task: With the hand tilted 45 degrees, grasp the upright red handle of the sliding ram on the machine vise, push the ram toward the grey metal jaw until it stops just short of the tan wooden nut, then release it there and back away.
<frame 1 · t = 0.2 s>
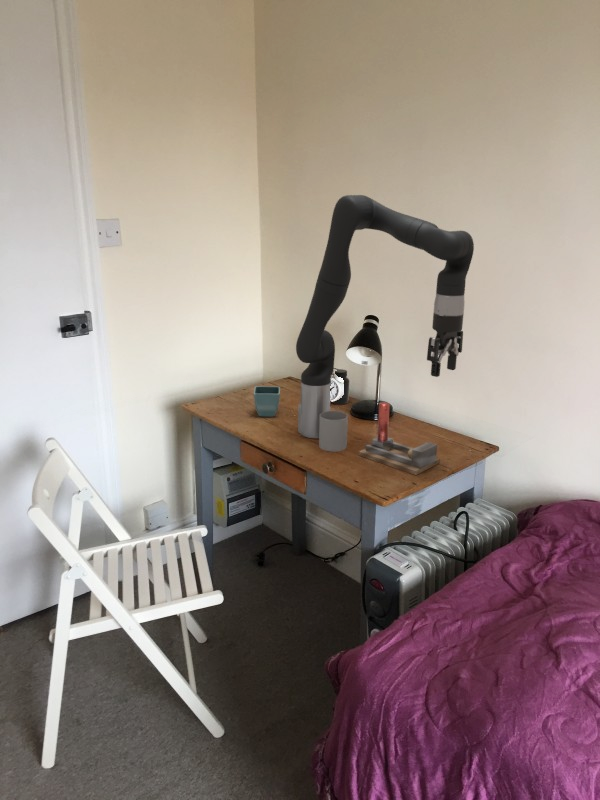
hand: (443, 372, 171), 29 cm above the table, tool pointing down, fingers open, 8 cm apart
cup: (332, 446, 198), on the table
flower pot: (267, 415, 225), on the table
supplement bottle: (339, 402, 239), on the table
ram: (383, 426, 191), point 9 cm above the table, slide at 0.0 cm
machine vise: (398, 458, 189), on the table
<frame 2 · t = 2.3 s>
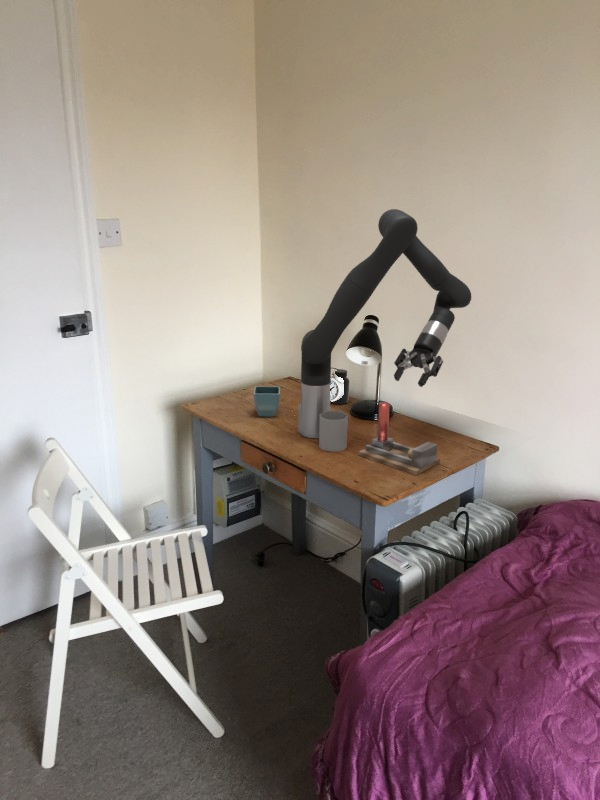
hand: (407, 382, 195), 20 cm above the table, tool tilted 45°, fingers open, 8 cm apart
nothing on the table moved.
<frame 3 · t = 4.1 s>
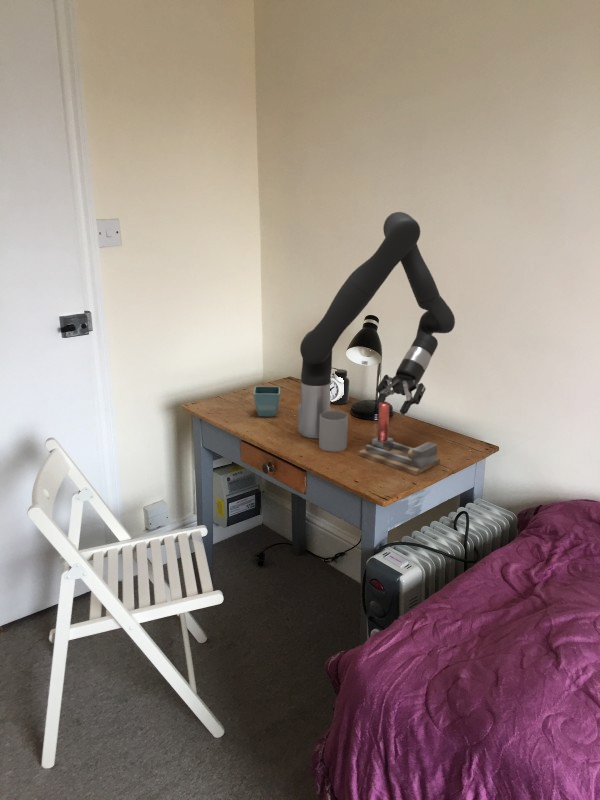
hand: (389, 410, 191), 13 cm above the table, tool tilted 45°, fingers open, 8 cm apart
nothing on the table moved.
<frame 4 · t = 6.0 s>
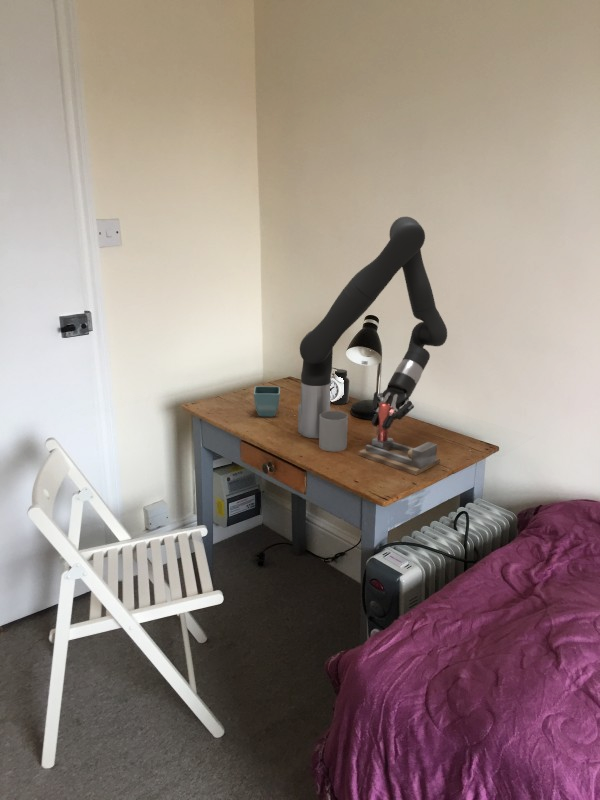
hand: (379, 426, 189), 9 cm above the table, tool tilted 45°, fingers closed on ram, 3 cm apart
ram: (383, 426, 191), point 8 cm above the table, slide at 0.0 cm, touching gripper
everything else where it was.
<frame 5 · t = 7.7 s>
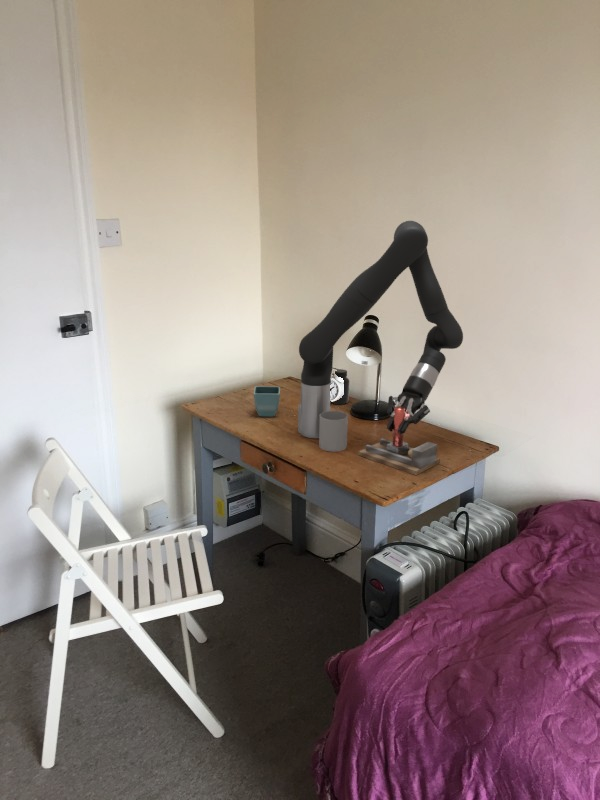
hand: (394, 431, 186), 9 cm above the table, tool tilted 45°, fingers closed on ram, 3 cm apart
ram: (398, 431, 187), point 9 cm above the table, slide at 5.4 cm, touching gripper
everything else where it was.
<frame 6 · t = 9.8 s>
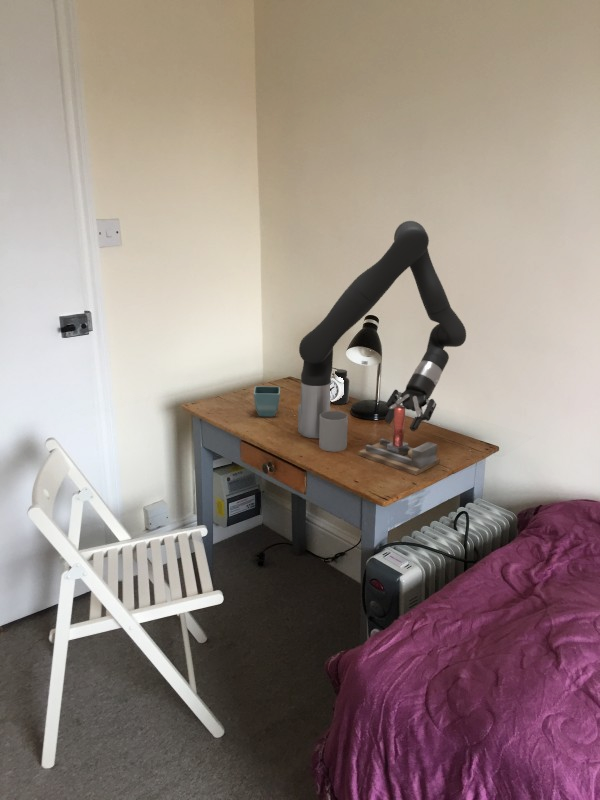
hand: (399, 426, 187), 10 cm above the table, tool tilted 45°, fingers open, 8 cm apart
ram: (398, 431, 187), point 9 cm above the table, slide at 5.4 cm
everything else where it was.
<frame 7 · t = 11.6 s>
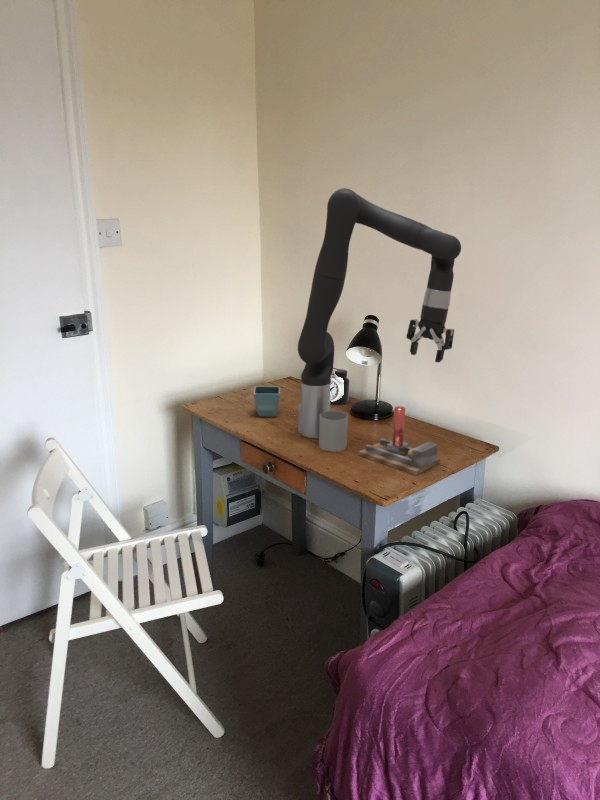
hand: (425, 358, 195), 27 cm above the table, tool pointing down, fingers open, 8 cm apart
nothing on the table moved.
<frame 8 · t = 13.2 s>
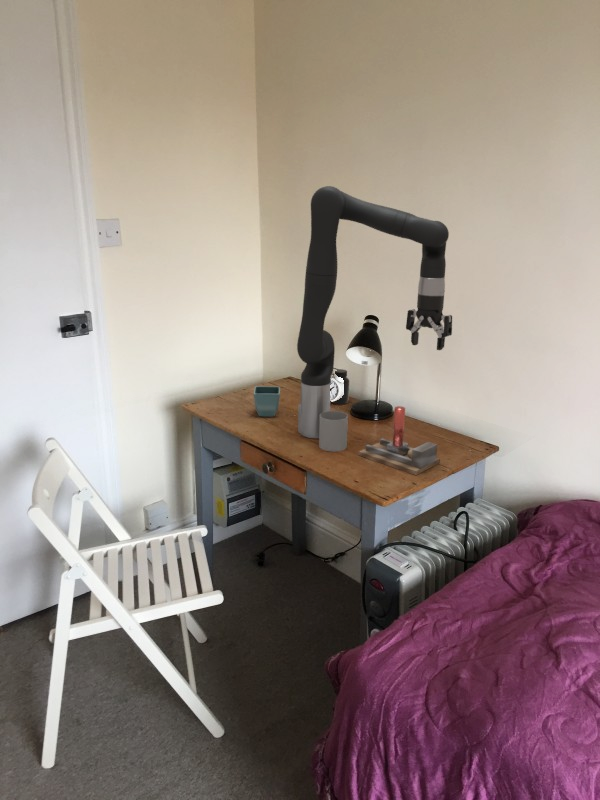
hand: (427, 347, 193), 30 cm above the table, tool pointing down, fingers open, 8 cm apart
nothing on the table moved.
at the end: ram slide at 5.4 cm; the gripper is holding nothing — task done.
